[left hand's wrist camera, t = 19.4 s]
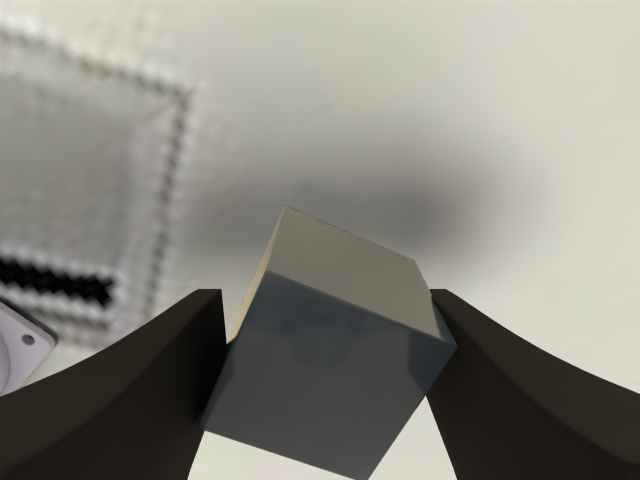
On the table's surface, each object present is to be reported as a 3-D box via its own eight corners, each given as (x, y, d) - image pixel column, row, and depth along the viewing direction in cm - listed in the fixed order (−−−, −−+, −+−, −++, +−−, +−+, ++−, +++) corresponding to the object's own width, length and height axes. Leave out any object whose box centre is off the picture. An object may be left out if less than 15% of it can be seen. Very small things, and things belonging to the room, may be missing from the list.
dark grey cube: (233, 322, 13) (195, 429, 9) (284, 204, 11) (265, 270, 7) (352, 367, 13) (365, 485, 9) (415, 259, 12) (460, 346, 8)
